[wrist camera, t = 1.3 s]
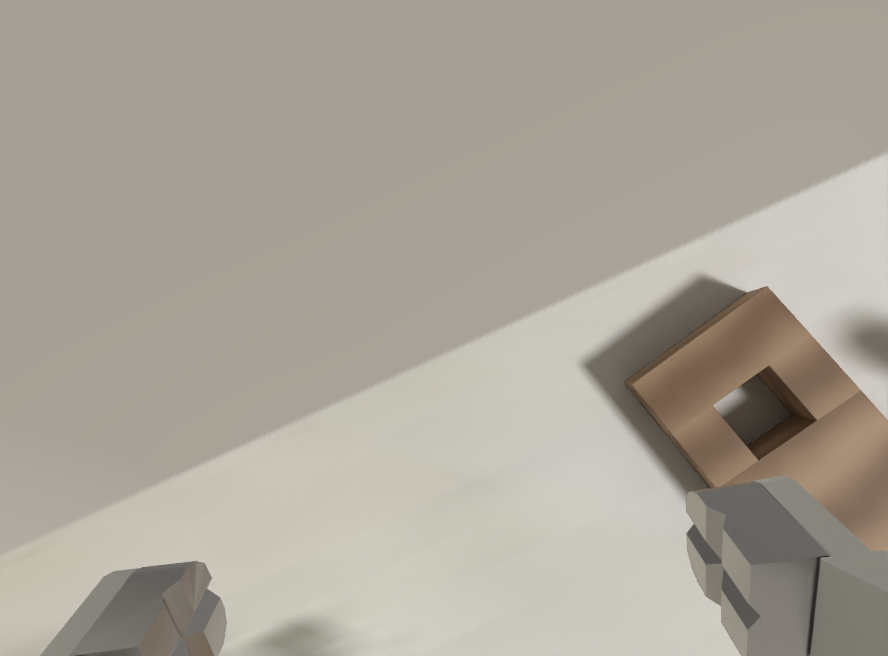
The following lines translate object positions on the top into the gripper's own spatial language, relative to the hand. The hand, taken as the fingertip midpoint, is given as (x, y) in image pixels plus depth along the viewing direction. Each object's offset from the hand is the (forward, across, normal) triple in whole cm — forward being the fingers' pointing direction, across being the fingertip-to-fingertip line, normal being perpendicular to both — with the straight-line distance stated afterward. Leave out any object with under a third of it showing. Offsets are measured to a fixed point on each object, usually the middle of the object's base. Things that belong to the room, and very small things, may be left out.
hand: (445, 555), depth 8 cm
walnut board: (+27, +23, -20) cm, 41 cm away
